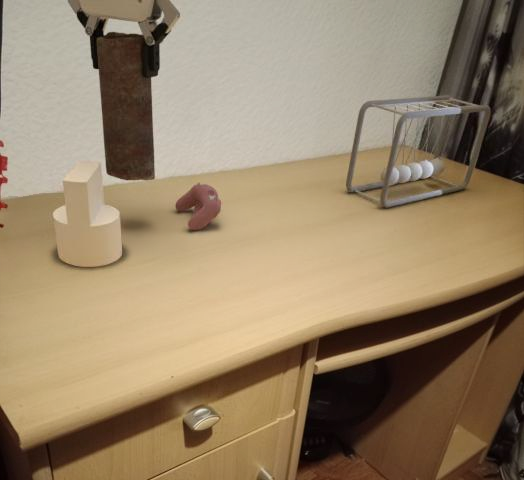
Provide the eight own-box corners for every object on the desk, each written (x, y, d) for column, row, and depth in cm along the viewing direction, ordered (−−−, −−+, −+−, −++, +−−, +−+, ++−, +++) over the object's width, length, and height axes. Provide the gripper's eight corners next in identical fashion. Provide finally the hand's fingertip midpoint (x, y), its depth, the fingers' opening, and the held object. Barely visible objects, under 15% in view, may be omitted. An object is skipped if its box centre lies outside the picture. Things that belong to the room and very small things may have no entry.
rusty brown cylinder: (136, 190, 81) (129, 37, 69) (95, 180, 83) (82, 29, 71) (164, 177, 87) (162, 34, 75) (125, 168, 89) (117, 27, 77)
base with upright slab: (67, 238, 83) (57, 158, 76) (127, 242, 84) (122, 164, 77) (50, 264, 76) (37, 178, 69) (115, 269, 76) (109, 184, 69)
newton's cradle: (430, 175, 129) (452, 94, 119) (468, 189, 123) (494, 105, 112) (343, 193, 112) (359, 100, 102) (381, 210, 106) (402, 113, 96)
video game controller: (210, 239, 91) (230, 202, 89) (187, 229, 88) (206, 191, 86) (194, 216, 98) (212, 182, 96) (172, 207, 96) (190, 171, 93)
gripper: (37, -100, 65) (56, 66, 75) (168, -87, 61) (169, 85, 71) (75, -92, 71) (87, 60, 81) (196, -80, 67) (193, 78, 77)
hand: (125, 71), depth 76 cm, fingers closed on rusty brown cylinder, 7 cm apart
